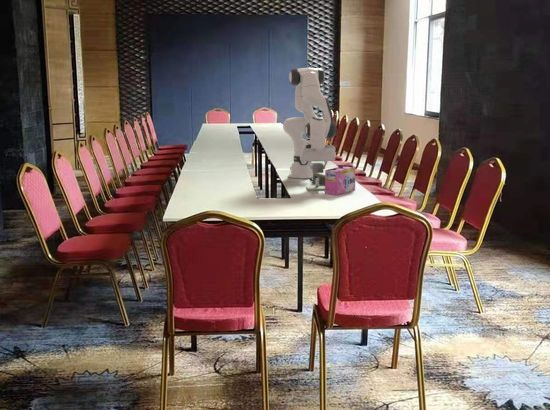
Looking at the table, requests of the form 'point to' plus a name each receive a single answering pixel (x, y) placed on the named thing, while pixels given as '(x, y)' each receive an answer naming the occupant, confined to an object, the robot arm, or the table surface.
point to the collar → (317, 167)
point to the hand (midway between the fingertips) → (317, 169)
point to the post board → (312, 188)
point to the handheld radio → (321, 178)
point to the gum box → (339, 180)
